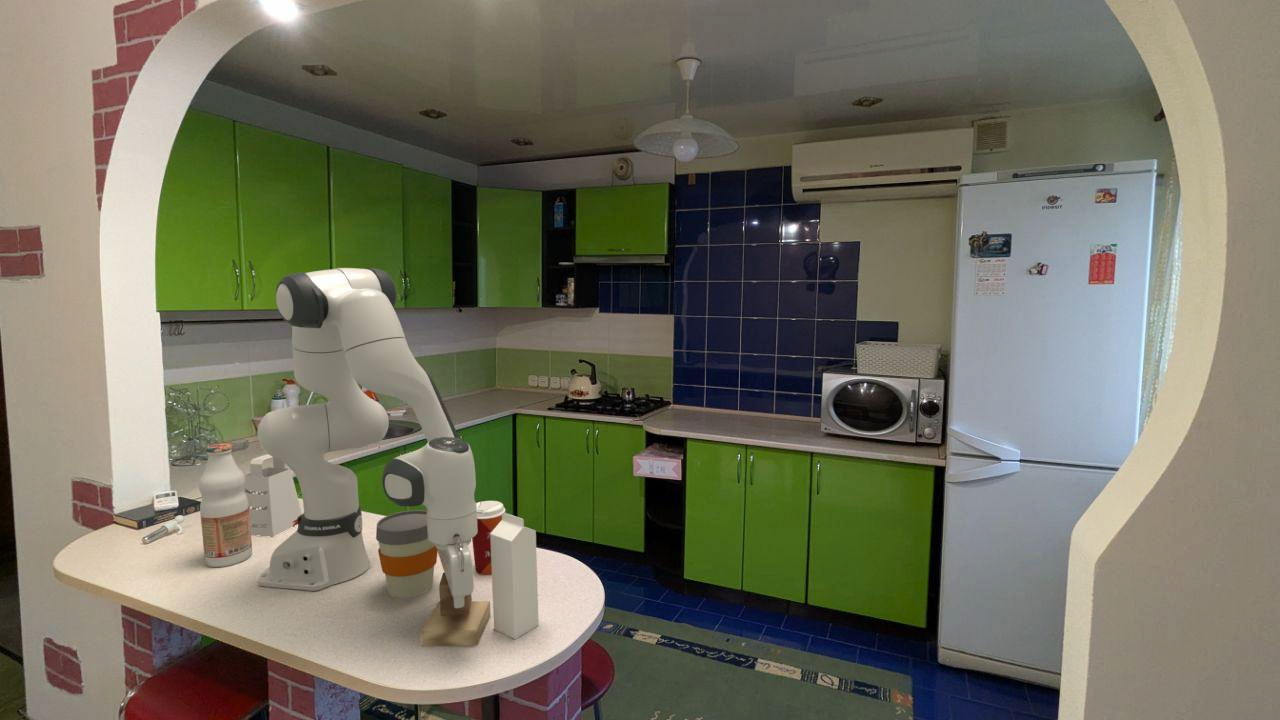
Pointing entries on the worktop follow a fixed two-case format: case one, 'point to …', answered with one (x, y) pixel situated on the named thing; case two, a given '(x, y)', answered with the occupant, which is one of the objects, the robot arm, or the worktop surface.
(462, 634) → the oak plinth
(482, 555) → the coffee cup
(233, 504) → the fruit juice
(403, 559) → the reusable coffee cup
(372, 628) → the worktop surface
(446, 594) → the walnut cube
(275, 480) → the grater
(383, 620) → the worktop surface
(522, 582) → the milk
